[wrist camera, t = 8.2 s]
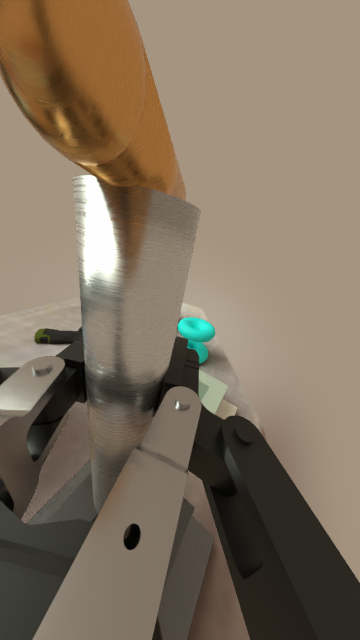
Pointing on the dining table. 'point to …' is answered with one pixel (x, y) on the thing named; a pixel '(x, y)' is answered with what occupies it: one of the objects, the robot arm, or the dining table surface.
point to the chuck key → (109, 203)
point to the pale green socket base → (214, 396)
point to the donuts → (197, 335)
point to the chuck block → (184, 559)
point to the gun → (57, 336)
